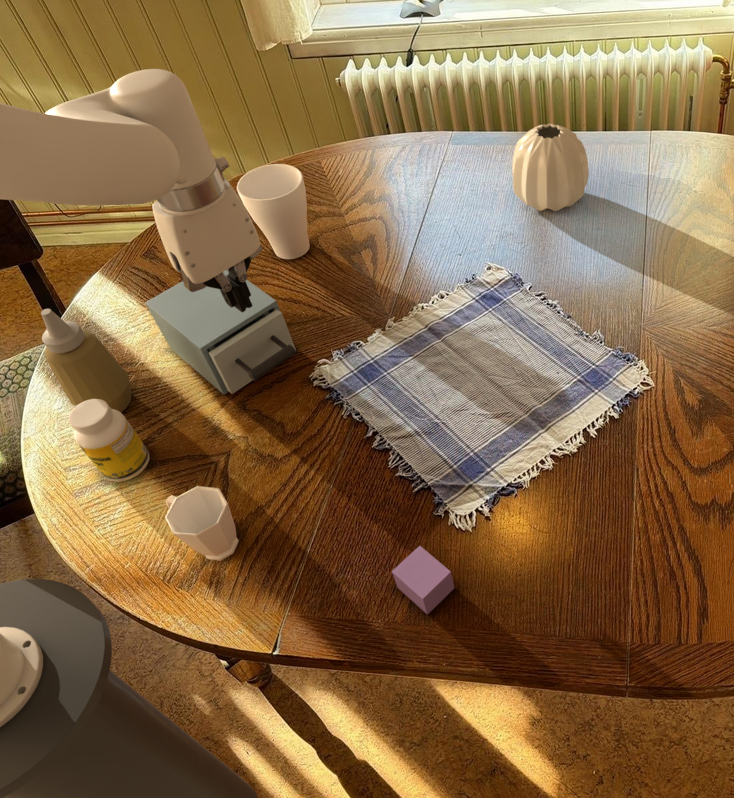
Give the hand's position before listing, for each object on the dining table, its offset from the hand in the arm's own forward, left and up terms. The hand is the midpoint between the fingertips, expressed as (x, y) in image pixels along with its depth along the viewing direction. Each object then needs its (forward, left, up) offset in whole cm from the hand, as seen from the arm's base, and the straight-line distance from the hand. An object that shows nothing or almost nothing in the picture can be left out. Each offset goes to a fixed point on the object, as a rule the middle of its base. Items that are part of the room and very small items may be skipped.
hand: (241, 304), depth 99 cm
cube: (-8, -42, -15) cm, 45 cm away
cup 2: (+21, +23, -15) cm, 35 cm away
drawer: (0, +6, -14) cm, 15 cm away
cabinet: (0, +10, -15) cm, 18 cm away
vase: (+61, -2, -15) cm, 63 cm away
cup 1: (-21, -17, -15) cm, 31 cm away
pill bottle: (-22, +2, -15) cm, 27 cm away
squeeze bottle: (-18, +14, -15) cm, 28 cm away
